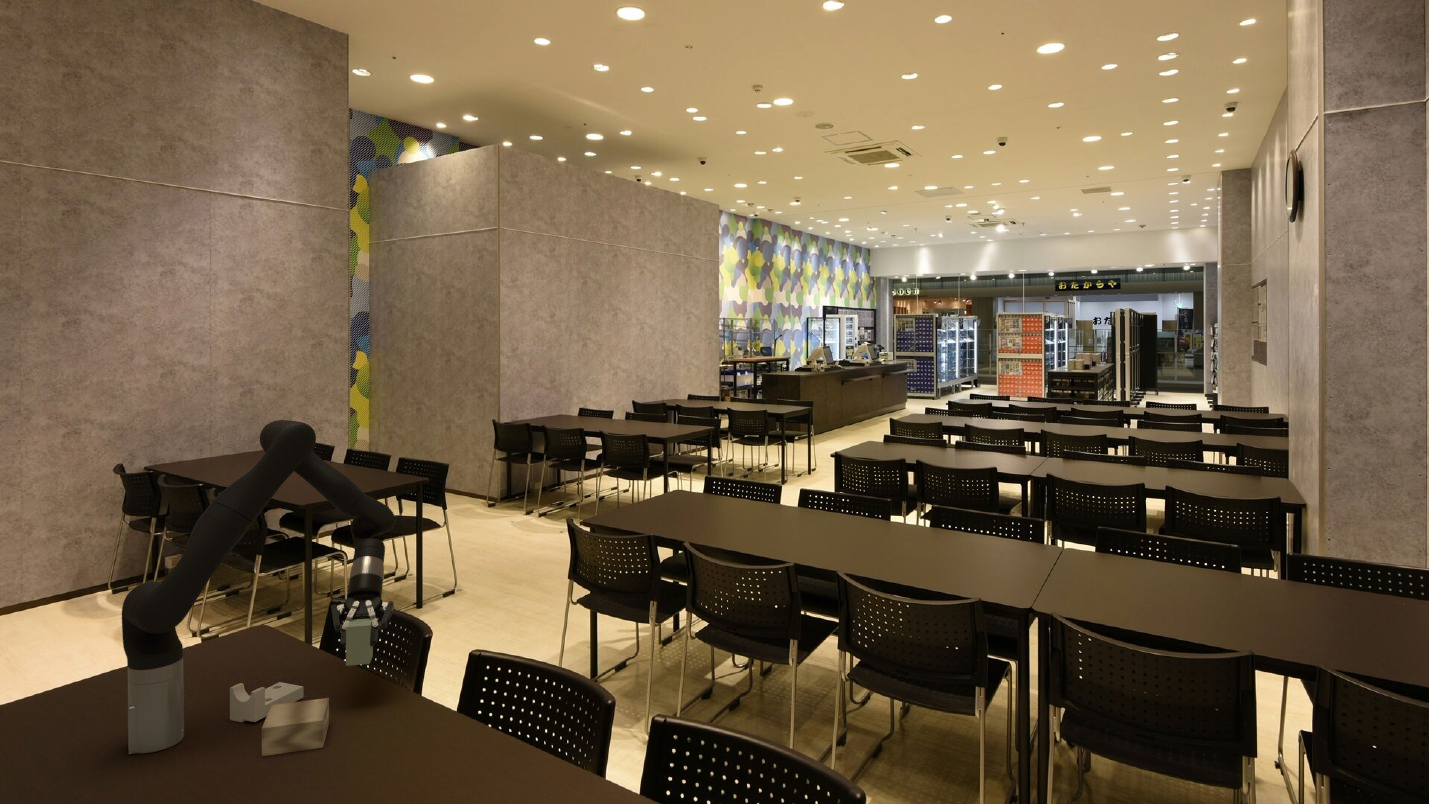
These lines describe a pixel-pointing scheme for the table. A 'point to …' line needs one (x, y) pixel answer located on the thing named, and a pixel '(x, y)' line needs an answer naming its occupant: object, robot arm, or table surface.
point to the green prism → (358, 642)
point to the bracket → (260, 700)
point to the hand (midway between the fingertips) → (358, 645)
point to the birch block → (295, 726)
